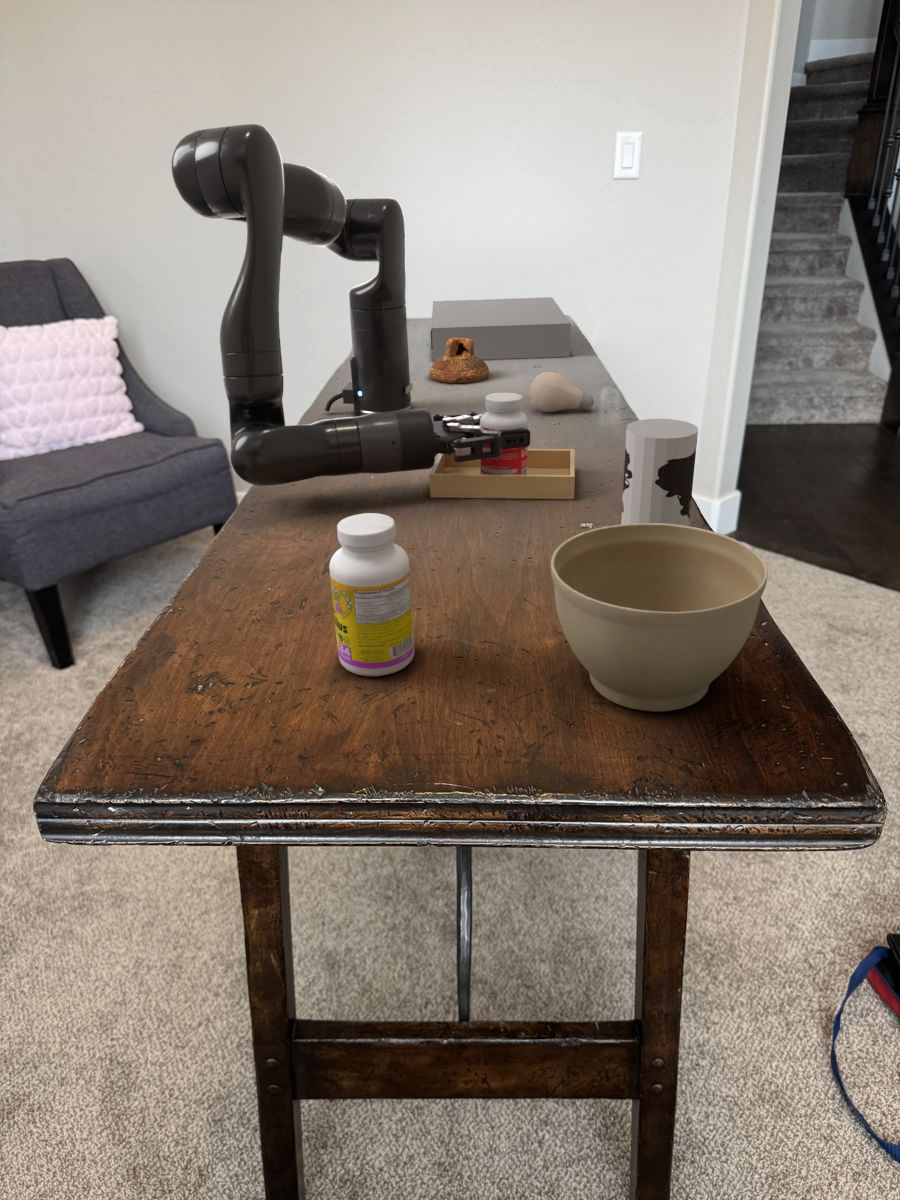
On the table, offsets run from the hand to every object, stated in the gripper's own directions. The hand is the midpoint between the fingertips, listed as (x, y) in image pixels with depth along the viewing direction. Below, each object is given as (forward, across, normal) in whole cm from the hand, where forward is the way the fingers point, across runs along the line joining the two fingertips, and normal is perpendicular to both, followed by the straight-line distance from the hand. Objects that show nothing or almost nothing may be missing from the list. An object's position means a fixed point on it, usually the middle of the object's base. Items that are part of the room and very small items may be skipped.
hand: (521, 429), depth 114 cm
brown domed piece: (+6, +62, +7) cm, 63 cm away
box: (+22, +92, +7) cm, 95 cm away
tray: (-2, 0, +7) cm, 7 cm away
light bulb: (+17, +32, +7) cm, 36 cm away
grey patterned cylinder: (+5, -30, +7) cm, 31 cm away
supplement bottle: (-25, -40, +7) cm, 48 cm away
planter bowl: (-4, -50, +7) cm, 51 cm away
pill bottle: (-2, 0, +7) cm, 7 cm away
